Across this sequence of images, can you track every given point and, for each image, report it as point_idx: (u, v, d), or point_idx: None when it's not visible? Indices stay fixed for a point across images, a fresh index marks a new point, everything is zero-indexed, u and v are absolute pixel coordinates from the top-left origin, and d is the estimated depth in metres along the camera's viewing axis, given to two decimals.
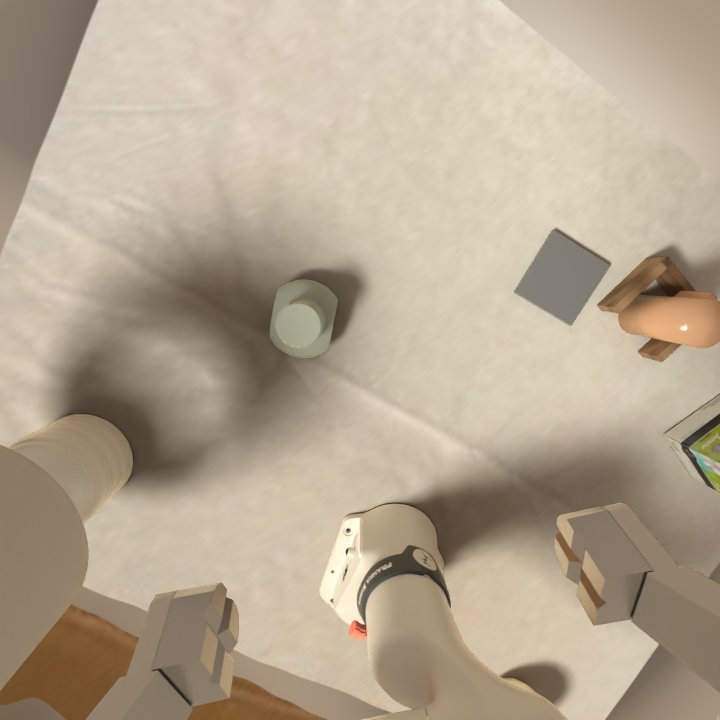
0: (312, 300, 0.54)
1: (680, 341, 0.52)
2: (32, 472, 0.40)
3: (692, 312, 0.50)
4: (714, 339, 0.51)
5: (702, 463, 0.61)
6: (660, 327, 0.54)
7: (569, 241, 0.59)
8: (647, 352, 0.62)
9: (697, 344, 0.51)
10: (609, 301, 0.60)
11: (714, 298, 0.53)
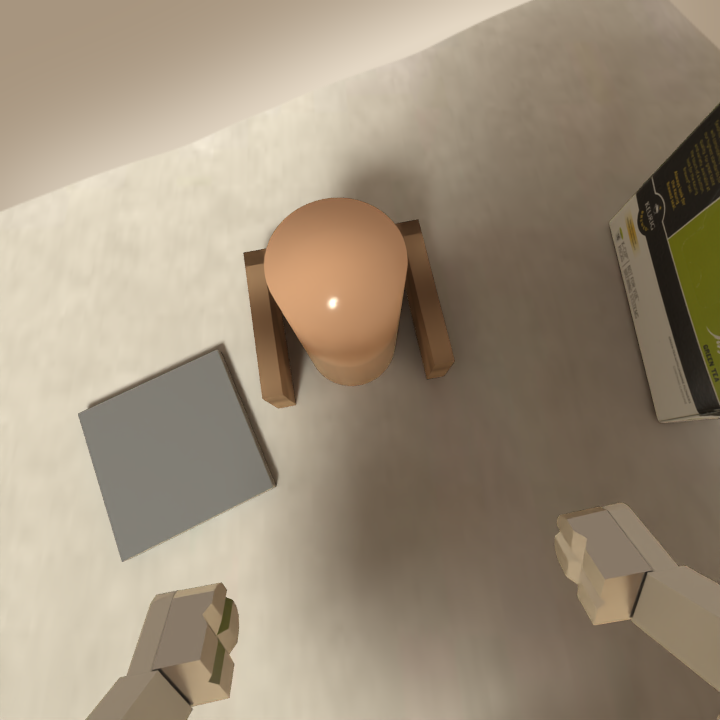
0: None
1: (358, 334, 0.18)
2: None
3: (279, 280, 0.17)
4: (391, 258, 0.17)
5: None
6: (321, 349, 0.20)
7: (118, 398, 0.28)
8: (429, 370, 0.26)
9: (376, 304, 0.17)
10: None
11: None
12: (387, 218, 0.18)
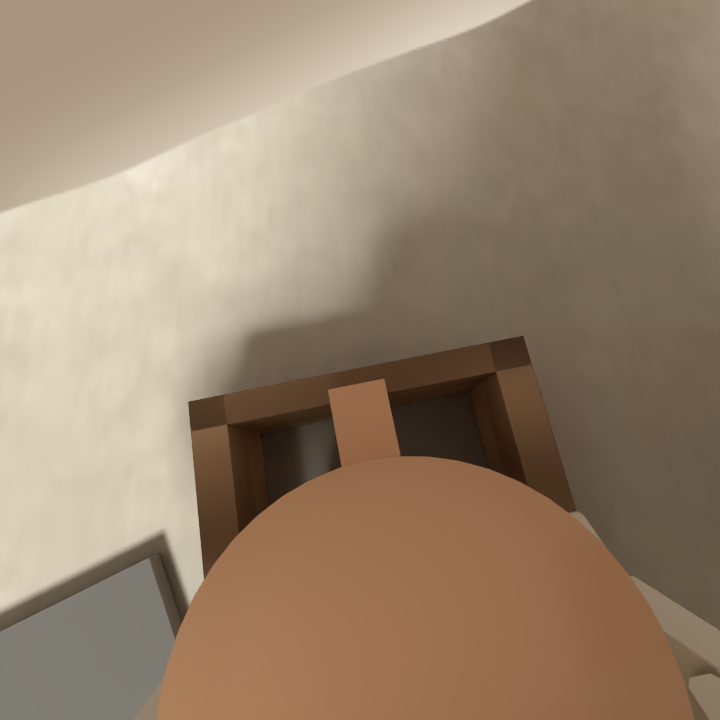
0: None
1: None
2: None
3: None
4: None
5: None
6: None
7: None
8: None
9: None
10: None
11: (372, 391, 0.09)
12: (598, 549, 0.05)
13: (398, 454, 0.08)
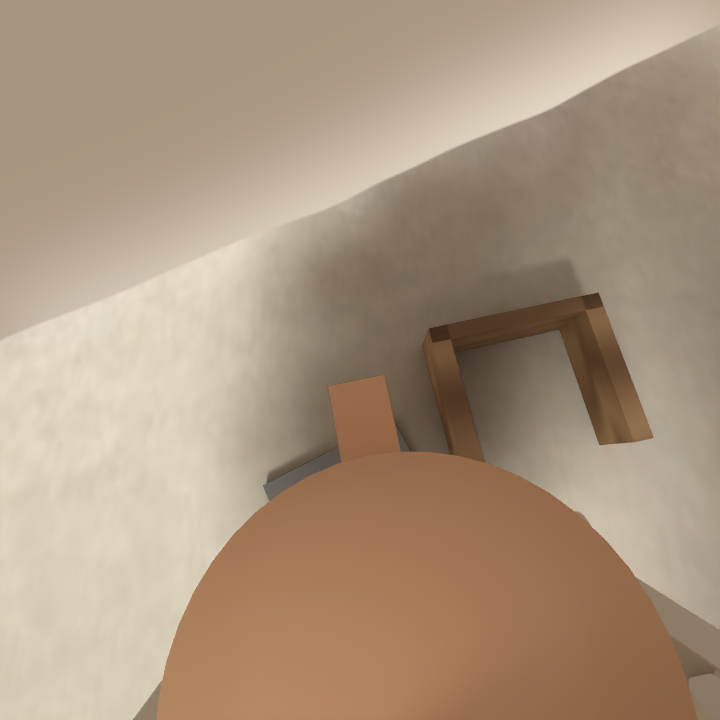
0: None
1: None
2: None
3: None
4: None
5: None
6: None
7: (300, 469, 0.28)
8: (612, 440, 0.27)
9: None
10: None
11: (372, 388, 0.09)
12: (599, 544, 0.05)
13: (398, 450, 0.08)
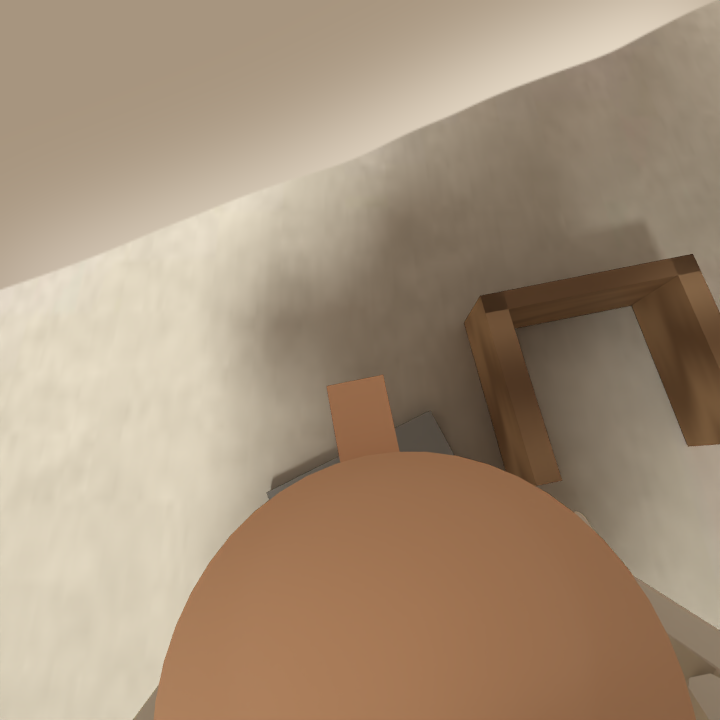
0: None
1: None
2: None
3: None
4: None
5: None
6: None
7: (314, 472, 0.22)
8: (712, 440, 0.21)
9: None
10: (515, 466, 0.21)
11: (371, 388, 0.09)
12: (598, 544, 0.05)
13: (397, 450, 0.08)
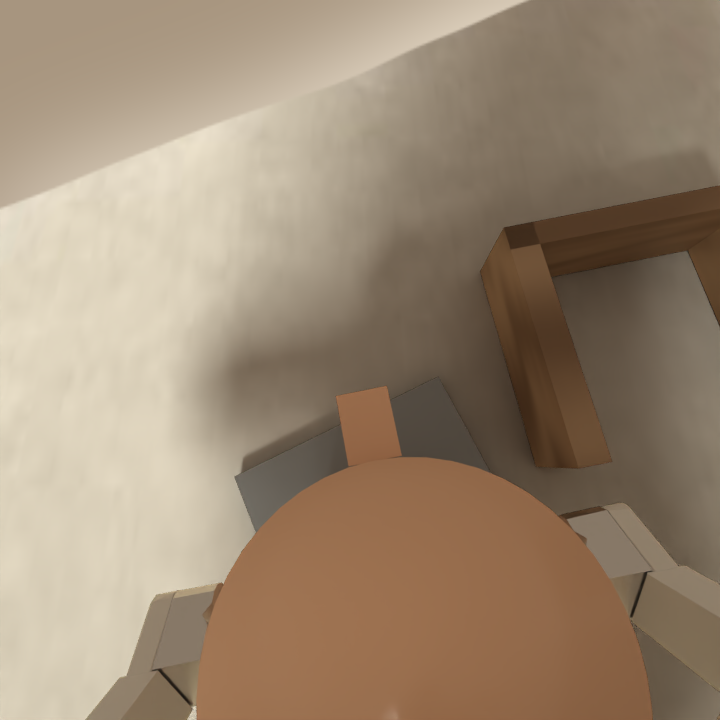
0: None
1: None
2: None
3: None
4: (597, 690, 0.05)
5: None
6: None
7: (294, 452, 0.18)
8: None
9: None
10: (546, 444, 0.17)
11: (375, 397, 0.09)
12: (569, 535, 0.06)
13: (399, 454, 0.09)
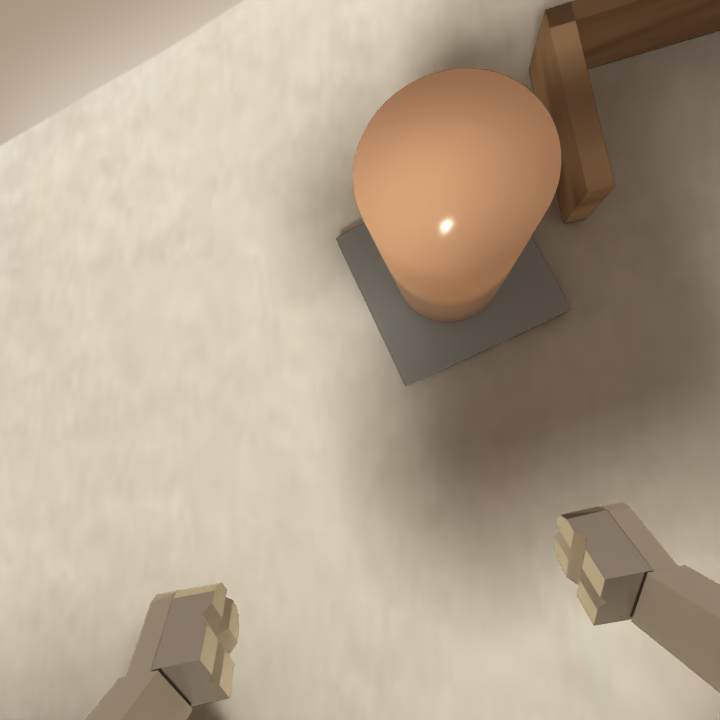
0: None
1: (480, 272, 0.13)
2: None
3: (374, 202, 0.13)
4: (536, 158, 0.12)
5: None
6: (425, 289, 0.16)
7: None
8: None
9: (513, 230, 0.12)
10: (570, 194, 0.22)
11: None
12: (530, 94, 0.12)
13: None
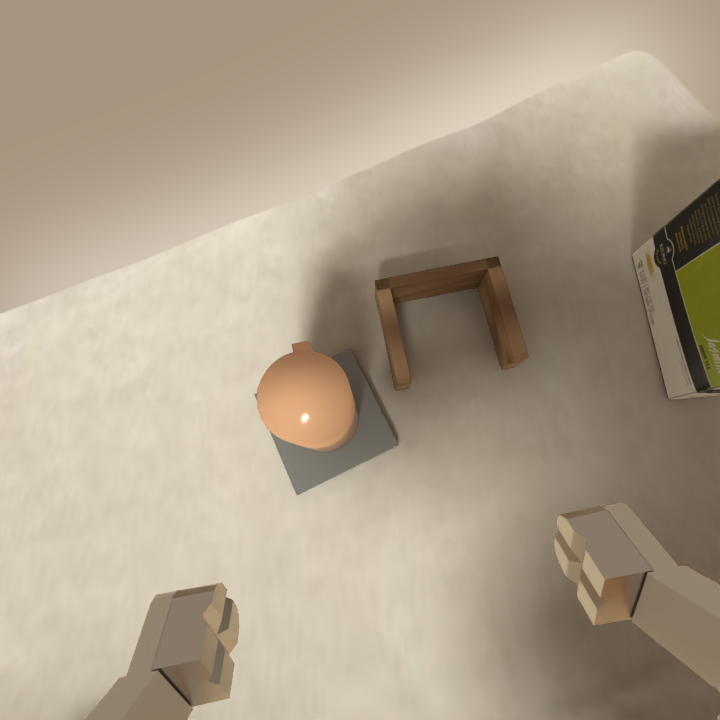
0: None
1: (320, 442, 0.27)
2: None
3: (266, 410, 0.26)
4: (340, 394, 0.26)
5: None
6: None
7: None
8: (506, 362, 0.37)
9: (330, 426, 0.26)
10: (394, 377, 0.37)
11: (304, 344, 0.30)
12: (338, 365, 0.27)
13: None
